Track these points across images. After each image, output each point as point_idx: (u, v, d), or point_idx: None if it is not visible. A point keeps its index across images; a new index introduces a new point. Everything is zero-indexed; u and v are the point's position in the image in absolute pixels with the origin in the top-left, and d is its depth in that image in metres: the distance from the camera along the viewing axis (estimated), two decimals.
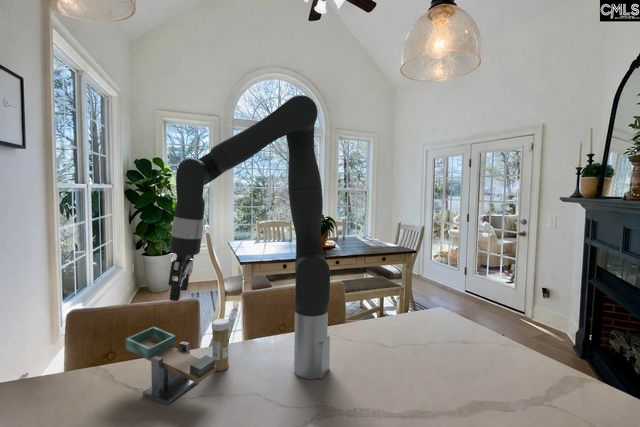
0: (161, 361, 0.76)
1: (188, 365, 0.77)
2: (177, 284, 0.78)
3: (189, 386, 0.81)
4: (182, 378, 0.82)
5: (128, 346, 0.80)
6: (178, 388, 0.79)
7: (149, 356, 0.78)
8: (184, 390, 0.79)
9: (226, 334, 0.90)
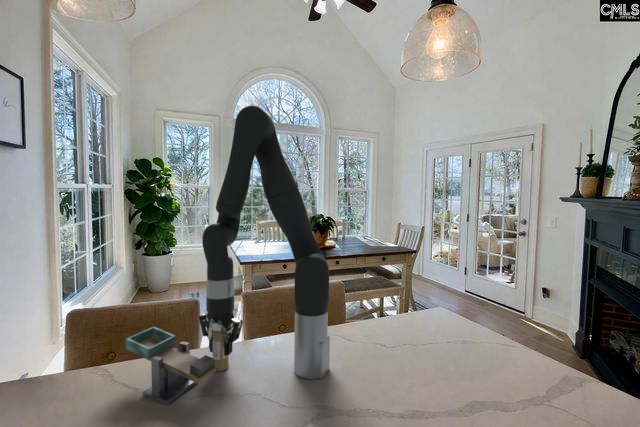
0: (161, 361, 0.76)
1: (188, 365, 0.77)
2: (238, 337, 0.89)
3: (189, 386, 0.81)
4: (182, 378, 0.82)
5: (128, 346, 0.80)
6: (178, 388, 0.79)
7: (149, 356, 0.78)
8: (184, 390, 0.79)
9: None
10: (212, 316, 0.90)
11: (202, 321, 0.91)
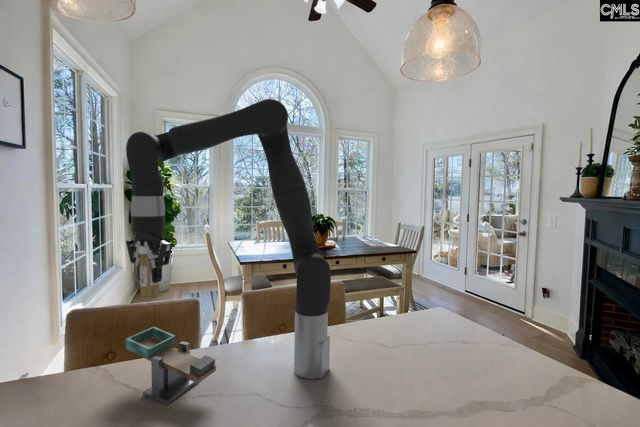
0: (161, 361, 0.76)
1: (188, 365, 0.77)
2: (167, 262, 0.80)
3: (189, 386, 0.81)
4: (182, 378, 0.82)
5: (128, 346, 0.80)
6: (178, 388, 0.79)
7: (149, 356, 0.78)
8: (184, 390, 0.79)
9: None
10: (139, 239, 0.81)
11: (129, 246, 0.82)
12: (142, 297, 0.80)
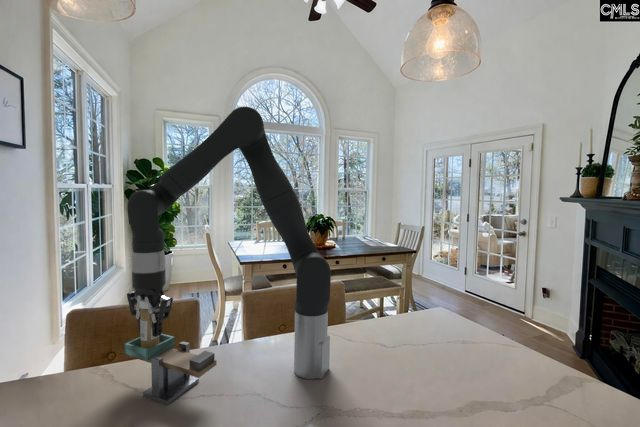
0: (161, 361, 0.76)
1: (188, 362, 0.77)
2: (167, 316, 0.81)
3: (189, 386, 0.81)
4: (182, 378, 0.82)
5: (127, 351, 0.80)
6: (178, 388, 0.79)
7: (148, 357, 0.78)
8: (184, 390, 0.79)
9: None
10: (140, 293, 0.82)
11: (130, 299, 0.83)
12: None
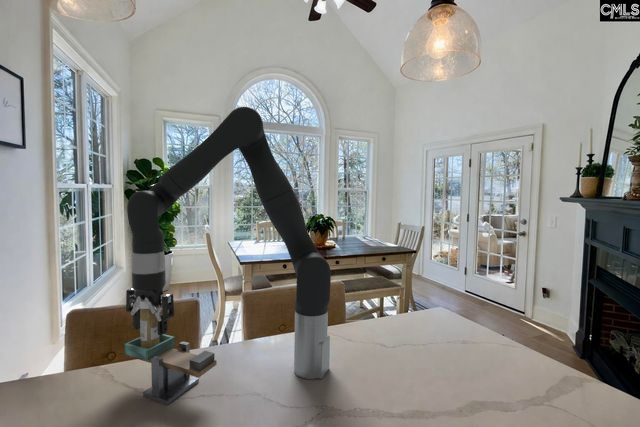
0: (161, 361, 0.76)
1: (188, 362, 0.77)
2: (173, 315, 0.80)
3: (189, 386, 0.81)
4: (182, 378, 0.82)
5: (127, 351, 0.80)
6: (178, 388, 0.79)
7: (148, 357, 0.78)
8: (184, 390, 0.79)
9: None
10: (140, 294, 0.82)
11: (129, 296, 0.83)
12: None
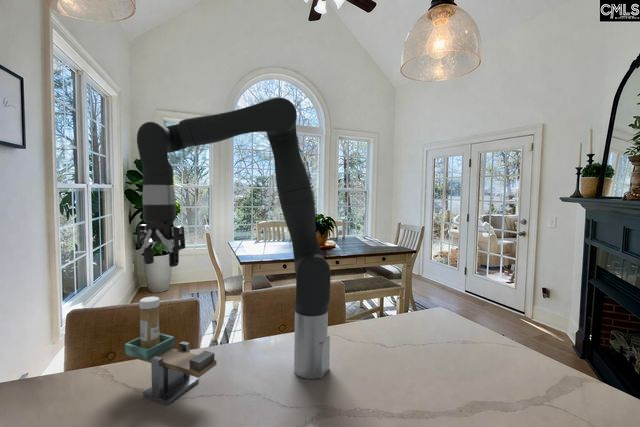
0: (161, 361, 0.76)
1: (188, 362, 0.77)
2: (184, 247, 0.81)
3: (189, 386, 0.81)
4: (182, 378, 0.82)
5: (127, 351, 0.80)
6: (178, 388, 0.79)
7: (148, 357, 0.78)
8: (184, 390, 0.79)
9: (155, 313, 0.82)
10: (151, 227, 0.83)
11: (139, 231, 0.84)
12: None
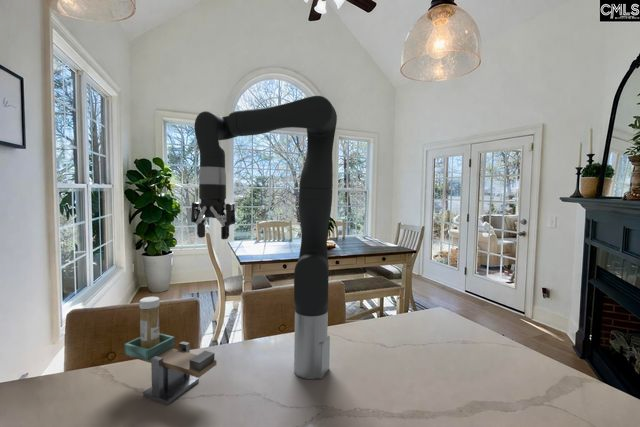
0: (161, 361, 0.76)
1: (188, 362, 0.77)
2: (234, 222, 0.93)
3: (189, 386, 0.81)
4: (182, 378, 0.82)
5: (127, 351, 0.80)
6: (178, 388, 0.79)
7: (148, 357, 0.78)
8: (184, 390, 0.79)
9: (155, 313, 0.82)
10: (205, 205, 0.94)
11: (194, 208, 0.95)
12: None
